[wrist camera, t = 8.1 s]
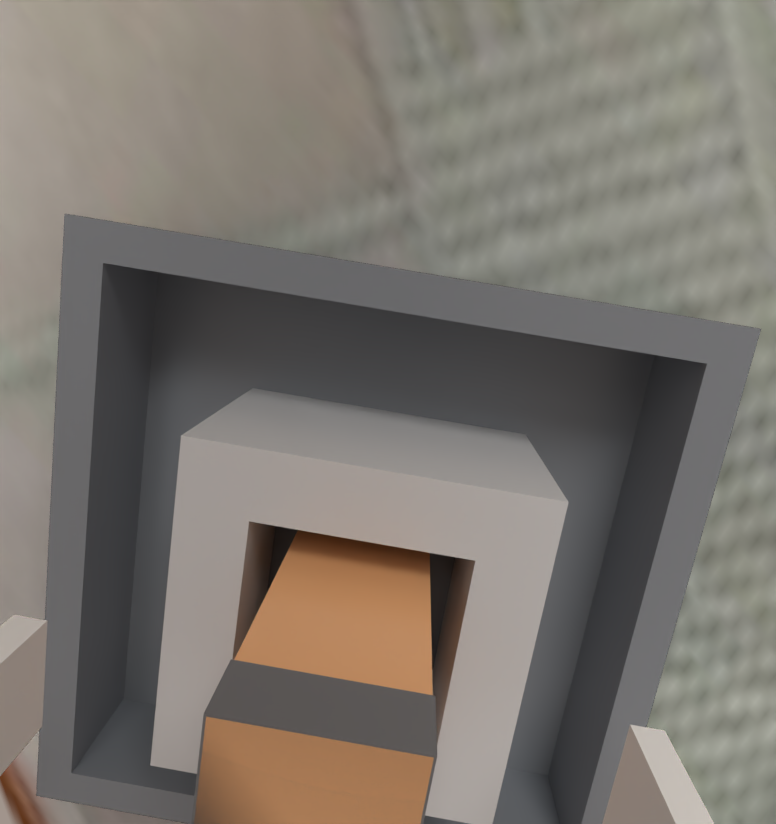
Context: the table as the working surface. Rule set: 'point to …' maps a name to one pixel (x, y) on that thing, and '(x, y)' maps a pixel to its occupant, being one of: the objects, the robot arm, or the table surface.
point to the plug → (327, 695)
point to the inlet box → (368, 503)
